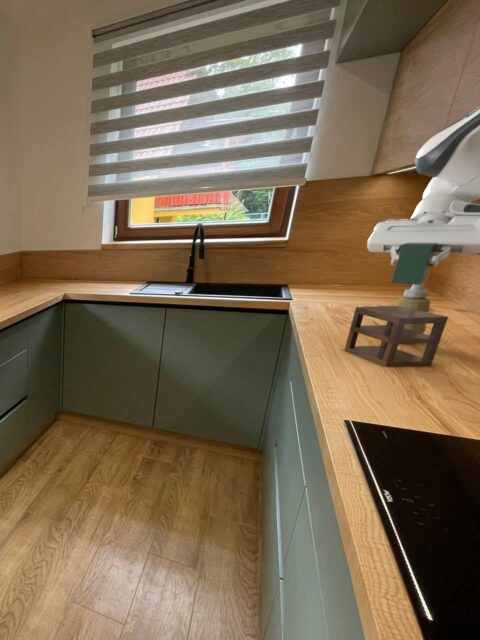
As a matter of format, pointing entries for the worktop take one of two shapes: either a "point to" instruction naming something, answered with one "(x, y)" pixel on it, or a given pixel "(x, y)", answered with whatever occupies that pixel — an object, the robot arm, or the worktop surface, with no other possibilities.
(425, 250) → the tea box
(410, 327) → the squeeze bottle
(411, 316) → the rack
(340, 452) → the worktop surface
